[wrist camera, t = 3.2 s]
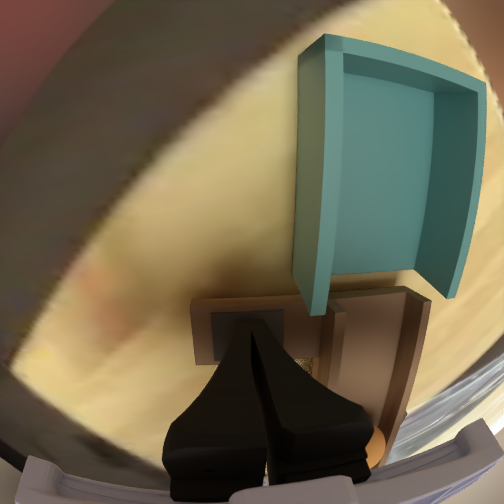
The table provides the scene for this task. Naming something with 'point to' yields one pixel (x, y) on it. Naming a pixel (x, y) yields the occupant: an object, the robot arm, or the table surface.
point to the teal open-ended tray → (384, 166)
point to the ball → (375, 447)
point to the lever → (335, 343)
